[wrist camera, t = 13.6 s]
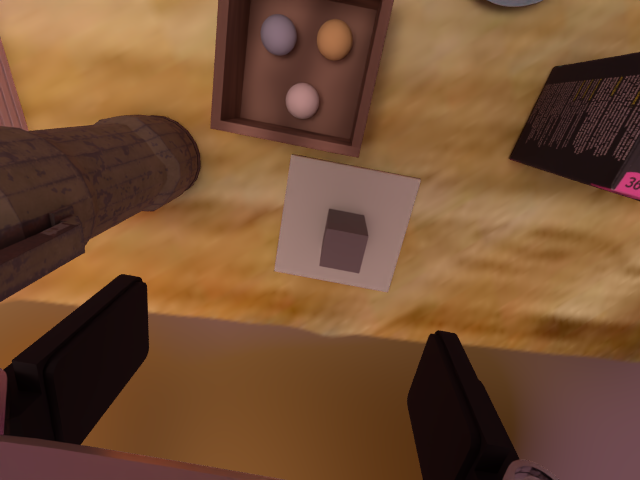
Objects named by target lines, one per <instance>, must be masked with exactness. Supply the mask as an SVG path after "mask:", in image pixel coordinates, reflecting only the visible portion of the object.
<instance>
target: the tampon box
mask: <svg viewBox="0 0 640 480" xmlns="http://www.w3.org/2000/svg"><path fill="white" fill-rule="evenodd" d="M510 160H514V161H517V162H520V163H523V164H526V165H529V166H532V167H535V168H538V169H541V170H544V171H547V172H550V173H553V174H556V175H559V176H562V177H565V178H568V179H571V180H575V181H578V182H581V183H584V184H587V185H590V186H594V187H597V188H600V189H603V190H606V191H609V192H613V193H616V194H619V195H622V196H625V197H628V198H632V199H635V200H638V201H640V52H637V53H631V54H627V55H621V56H615V57H609V58H603V59H597V60H592V61H586V62H580V63H574V64H568V65H562V66H556V67H554V68H553V70H552V72H551V74H550V76H549V78H548V80H547V83H546V85H545V87H544V89H543V91H542V93H541V95H540V97H539V99H538V101H537V103H536V105H535V107H534V109H533V111H532V113H531V115H530V118H529V120H528V122H527V124H526V126H525V128H524V130H523V132H522V134H521V136H520V138H519V140H518V142H517V144H516V146H515V148H514V150H513V152H512V154H511V157H510Z"/></svg>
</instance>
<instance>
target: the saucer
mask: <svg viewBox="0 0 640 480" xmlns="http://www.w3.org/2000/svg"><path fill="white" fill-rule="evenodd" d="M487 1H490V2H491V3H494V4H497V5H501V6H508V7H521V6H527V5H531V4H535V3H538V2H541V1H543V0H487Z"/></svg>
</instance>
